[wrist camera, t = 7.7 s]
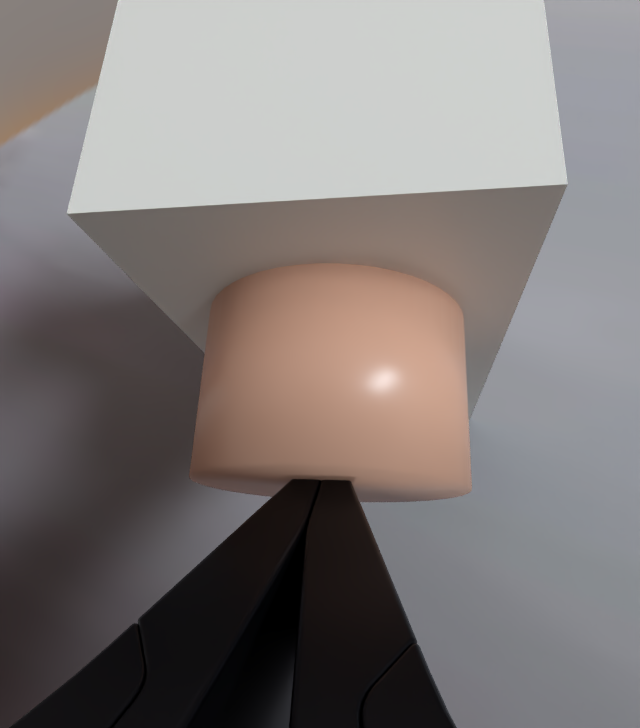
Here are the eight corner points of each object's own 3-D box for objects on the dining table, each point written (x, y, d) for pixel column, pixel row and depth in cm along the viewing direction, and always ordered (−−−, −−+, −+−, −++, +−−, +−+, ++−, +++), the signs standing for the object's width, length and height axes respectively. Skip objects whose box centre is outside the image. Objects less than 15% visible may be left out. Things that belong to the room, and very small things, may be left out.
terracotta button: (459, 505, 10) (491, 467, 6) (237, 498, 11) (137, 460, 7) (448, 216, 13) (465, 49, 8) (263, 226, 13) (198, 76, 9)
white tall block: (469, 419, 16) (567, 183, 6) (268, 418, 17) (66, 213, 7) (462, 267, 17) (528, -111, 8) (280, 274, 18) (131, -54, 9)
